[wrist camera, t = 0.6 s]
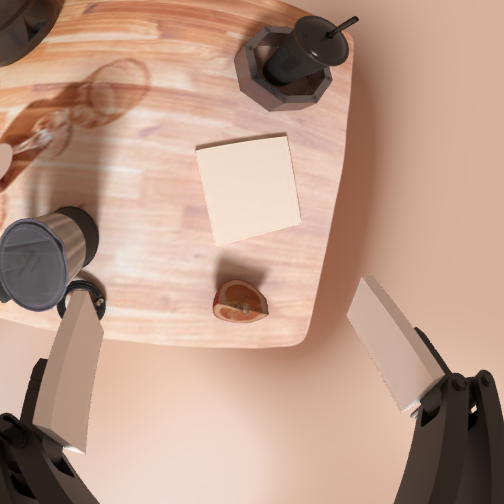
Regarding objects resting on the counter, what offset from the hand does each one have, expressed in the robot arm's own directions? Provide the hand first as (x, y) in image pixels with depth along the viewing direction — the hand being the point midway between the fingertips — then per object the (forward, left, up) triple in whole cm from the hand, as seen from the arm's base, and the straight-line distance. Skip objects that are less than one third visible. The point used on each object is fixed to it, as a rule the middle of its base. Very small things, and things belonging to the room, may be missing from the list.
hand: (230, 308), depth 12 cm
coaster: (-3, +11, -27) cm, 30 cm away
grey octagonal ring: (-21, +19, -27) cm, 39 cm away
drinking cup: (-21, +19, -27) cm, 39 cm away
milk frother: (+1, -17, -28) cm, 32 cm away
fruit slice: (+13, +5, -28) cm, 31 cm away
